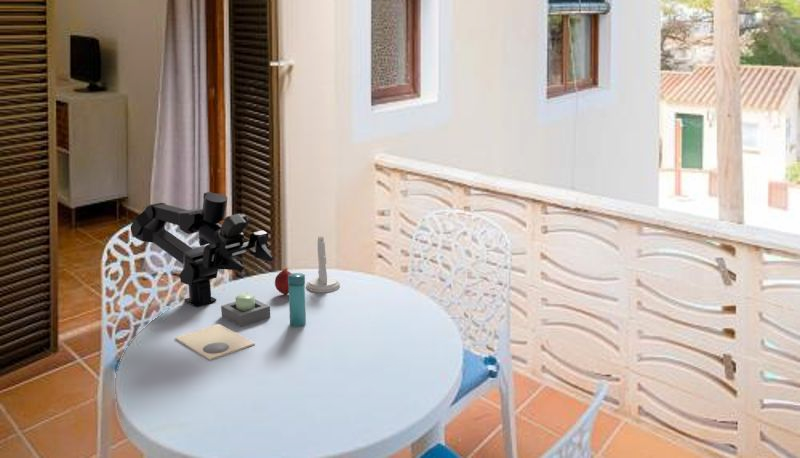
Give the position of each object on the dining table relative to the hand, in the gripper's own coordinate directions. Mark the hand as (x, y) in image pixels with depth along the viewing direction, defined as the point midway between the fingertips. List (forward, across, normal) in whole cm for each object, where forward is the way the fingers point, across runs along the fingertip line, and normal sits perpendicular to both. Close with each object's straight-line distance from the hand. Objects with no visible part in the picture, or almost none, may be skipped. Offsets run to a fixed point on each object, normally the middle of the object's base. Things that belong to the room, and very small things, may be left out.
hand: (257, 264), depth 175 cm
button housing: (-2, +1, +18) cm, 18 cm away
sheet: (+4, -14, +16) cm, 21 cm away
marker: (+11, +7, +14) cm, 19 cm away
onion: (-6, +19, +19) cm, 27 cm away
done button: (-3, +1, +16) cm, 16 cm away
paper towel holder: (-3, +30, +18) cm, 35 cm away
